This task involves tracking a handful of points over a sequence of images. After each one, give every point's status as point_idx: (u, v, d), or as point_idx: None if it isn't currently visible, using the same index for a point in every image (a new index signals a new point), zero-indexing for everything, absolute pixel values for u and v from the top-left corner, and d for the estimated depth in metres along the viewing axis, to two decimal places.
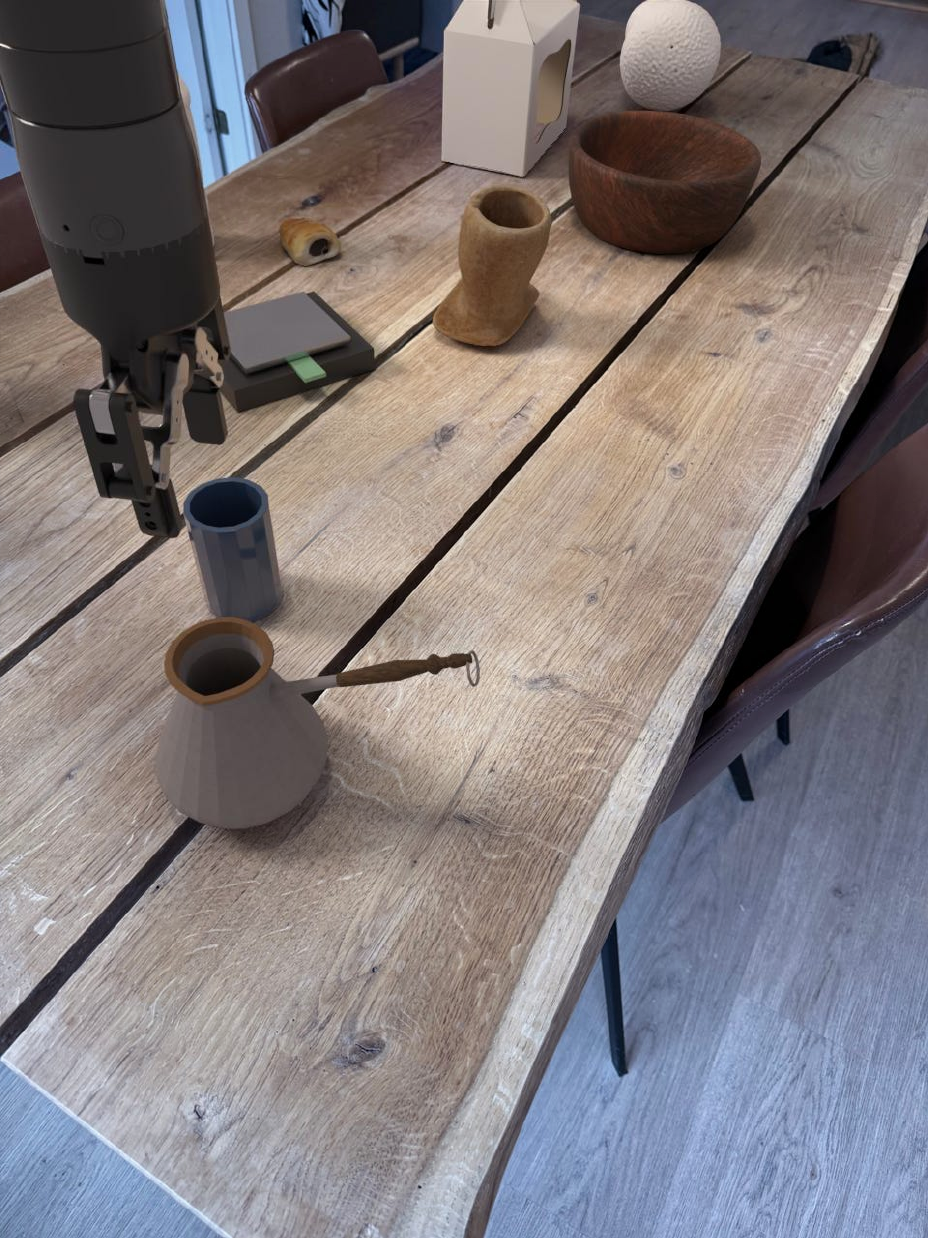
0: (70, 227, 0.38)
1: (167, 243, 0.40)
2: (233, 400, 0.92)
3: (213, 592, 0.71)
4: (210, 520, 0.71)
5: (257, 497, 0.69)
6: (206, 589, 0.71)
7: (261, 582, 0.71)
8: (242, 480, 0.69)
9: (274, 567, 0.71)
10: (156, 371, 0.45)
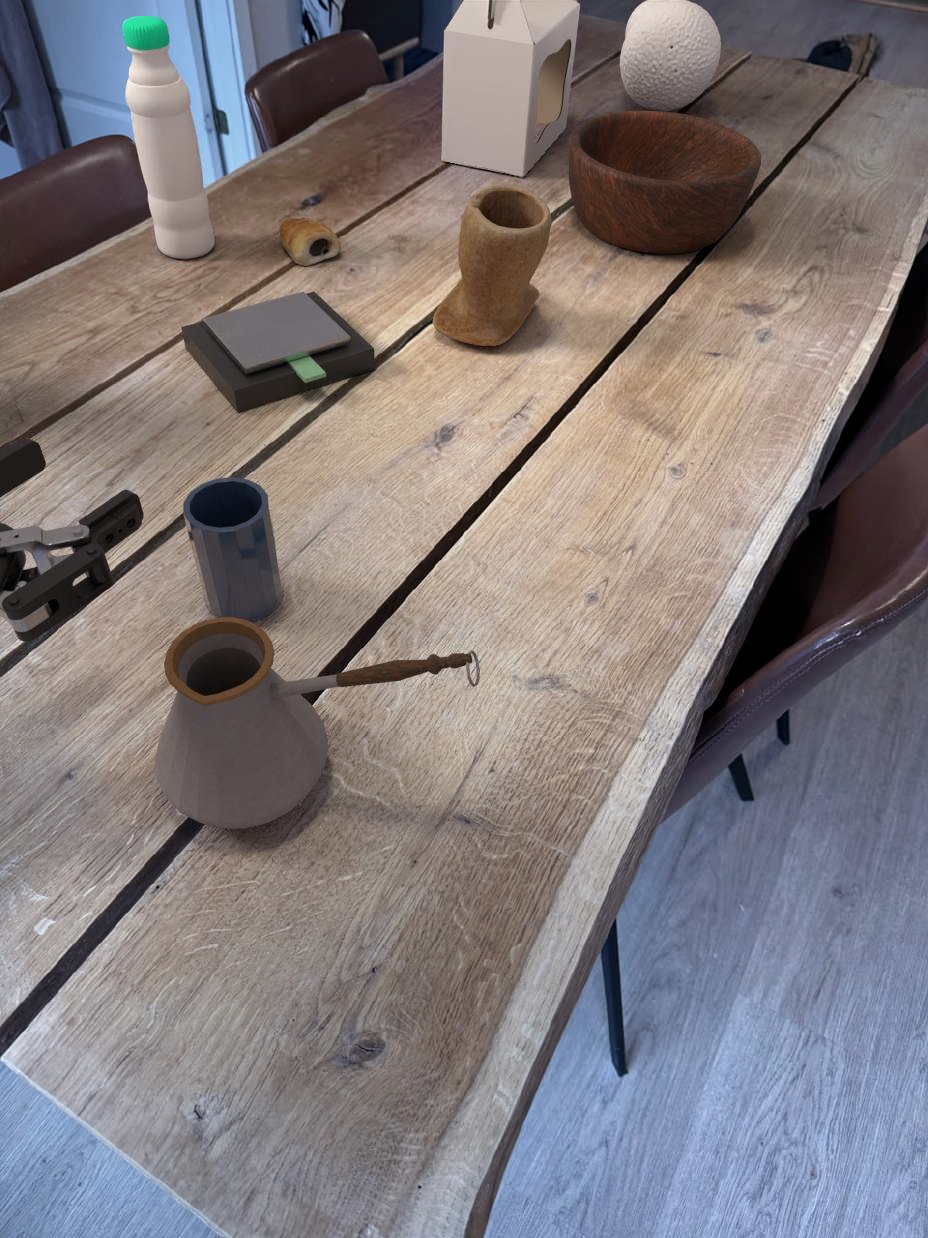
0: None
1: None
2: (233, 400, 0.92)
3: (213, 592, 0.71)
4: (210, 520, 0.71)
5: (257, 497, 0.69)
6: (206, 589, 0.71)
7: (261, 582, 0.71)
8: (242, 480, 0.69)
9: (274, 567, 0.71)
10: None
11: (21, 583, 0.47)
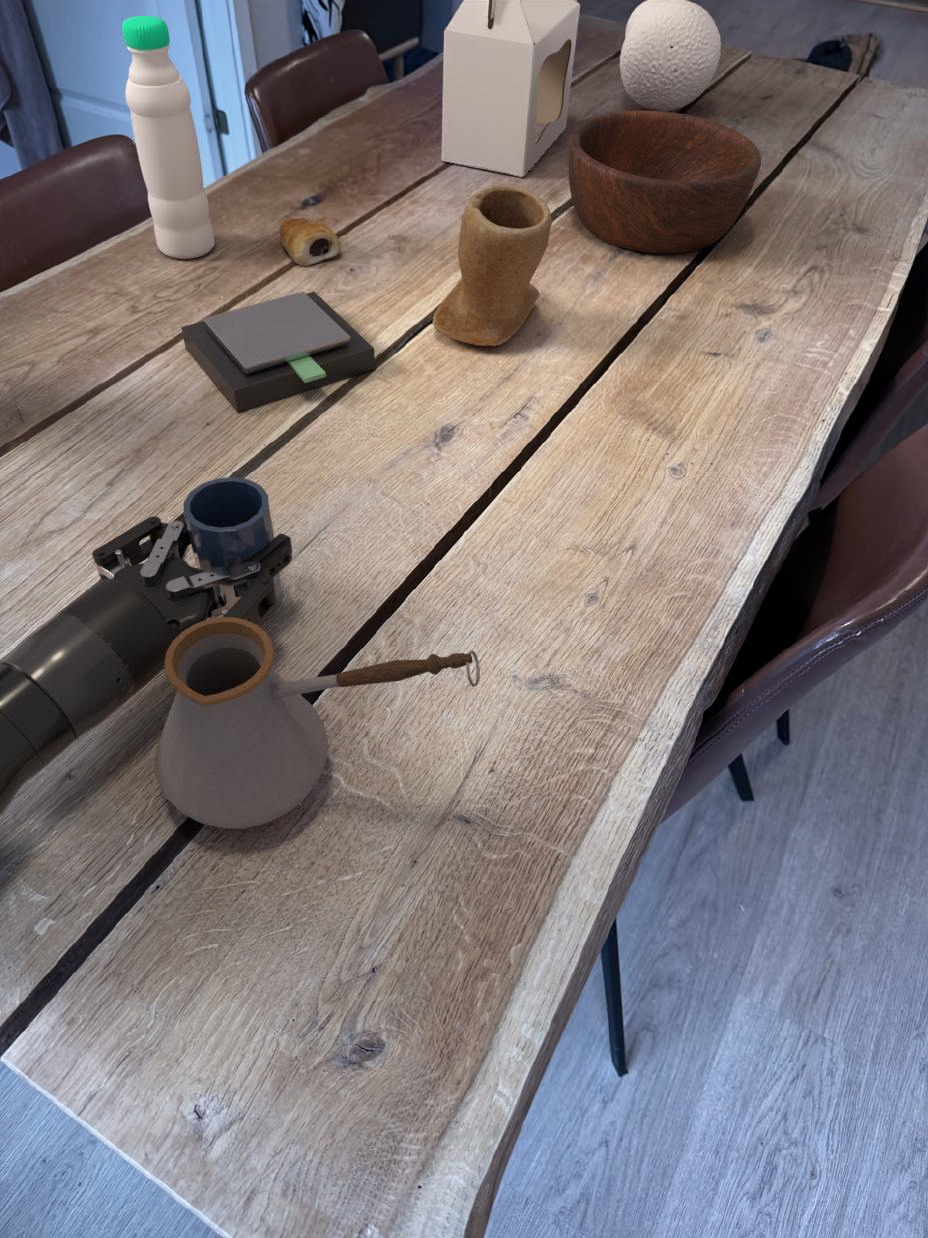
0: None
1: None
2: (233, 400, 0.92)
3: None
4: (210, 520, 0.71)
5: (257, 497, 0.69)
6: None
7: None
8: (242, 480, 0.69)
9: None
10: None
11: (224, 610, 0.64)
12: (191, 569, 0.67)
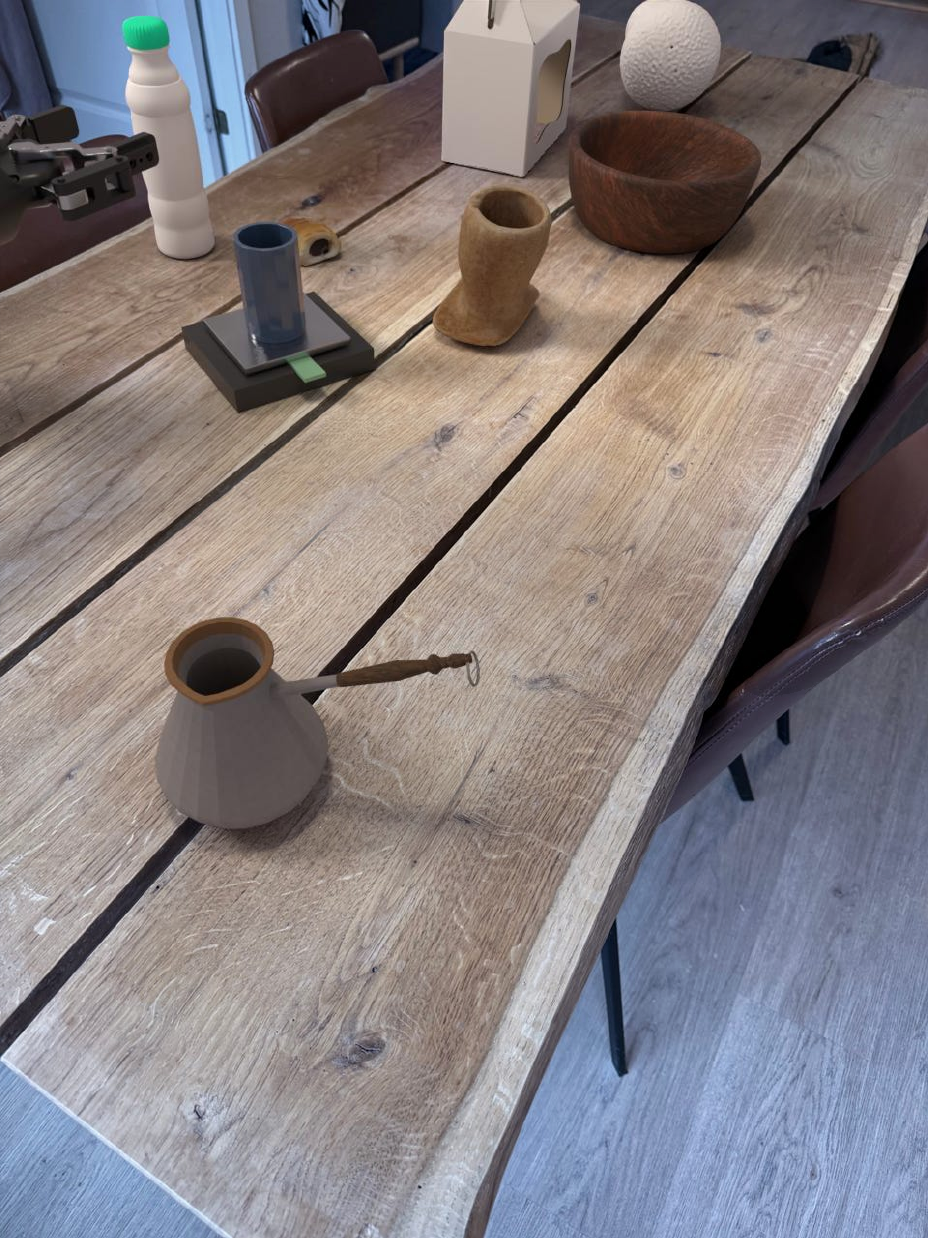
0: None
1: None
2: (233, 400, 0.92)
3: (254, 313, 0.92)
4: None
5: (288, 236, 0.90)
6: (248, 311, 0.92)
7: (291, 305, 0.92)
8: (277, 223, 0.91)
9: (300, 296, 0.93)
10: None
11: (65, 172, 0.60)
12: None
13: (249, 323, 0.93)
